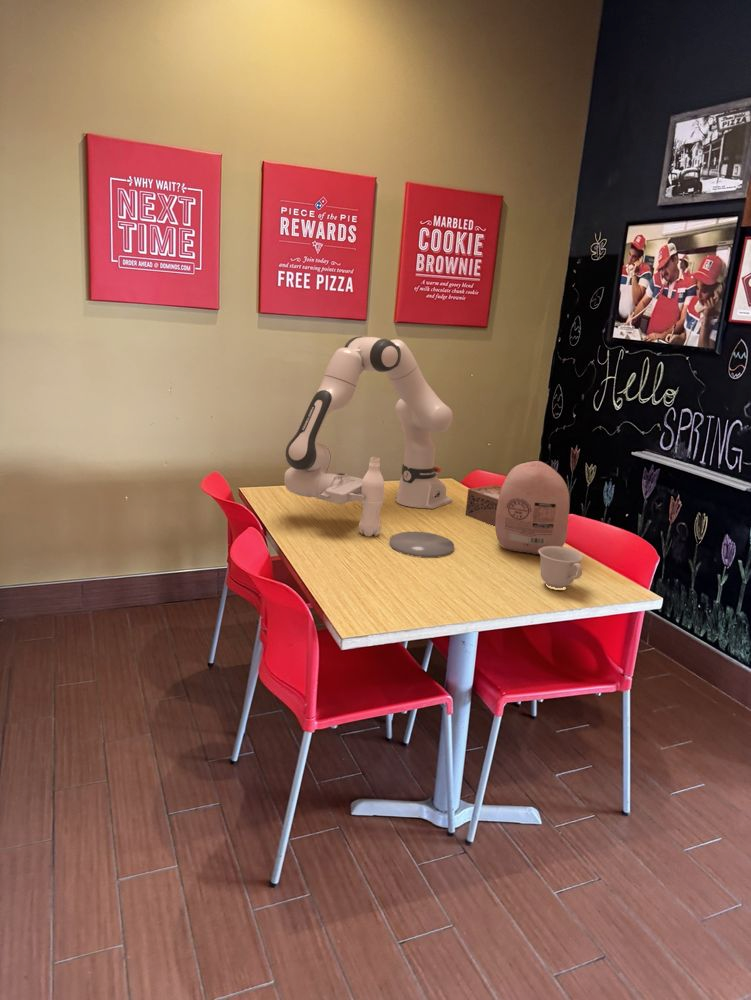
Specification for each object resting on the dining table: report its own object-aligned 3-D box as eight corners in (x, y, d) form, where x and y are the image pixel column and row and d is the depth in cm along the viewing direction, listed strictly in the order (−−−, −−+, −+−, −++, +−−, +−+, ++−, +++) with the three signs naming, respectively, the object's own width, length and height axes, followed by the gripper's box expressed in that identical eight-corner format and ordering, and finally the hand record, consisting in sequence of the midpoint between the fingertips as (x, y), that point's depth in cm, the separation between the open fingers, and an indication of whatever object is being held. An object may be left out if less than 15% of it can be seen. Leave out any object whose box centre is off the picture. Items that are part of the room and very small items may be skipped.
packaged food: (564, 548, 232) (578, 457, 223) (562, 569, 213) (577, 470, 205) (495, 537, 237) (507, 448, 228) (488, 556, 219) (500, 460, 210)
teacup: (557, 602, 189) (563, 567, 186) (524, 580, 202) (529, 547, 199) (594, 598, 194) (600, 563, 191) (559, 577, 207) (565, 544, 204)
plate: (418, 531, 237) (419, 527, 237) (466, 549, 224) (467, 545, 224) (376, 542, 223) (376, 539, 223) (424, 562, 210) (425, 558, 210)
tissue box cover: (465, 515, 259) (468, 489, 256) (492, 510, 268) (495, 484, 265) (520, 537, 240) (524, 508, 237) (547, 531, 249) (552, 503, 246)
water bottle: (381, 531, 234) (387, 456, 227) (379, 538, 227) (385, 461, 220) (359, 529, 234) (364, 454, 227) (356, 536, 227) (362, 459, 220)
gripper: (316, 485, 222) (357, 492, 217) (344, 471, 240) (383, 478, 235) (315, 504, 224) (356, 512, 219) (343, 490, 242) (381, 497, 237)
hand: (370, 495), depth 227 cm, fingers open, 8 cm apart
